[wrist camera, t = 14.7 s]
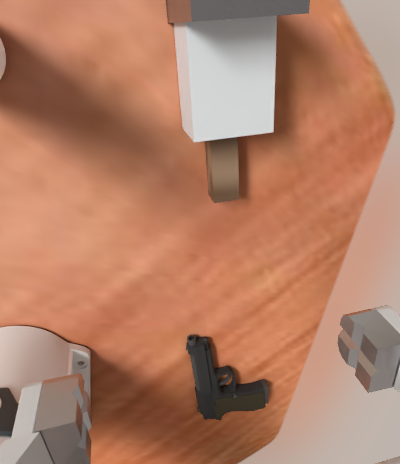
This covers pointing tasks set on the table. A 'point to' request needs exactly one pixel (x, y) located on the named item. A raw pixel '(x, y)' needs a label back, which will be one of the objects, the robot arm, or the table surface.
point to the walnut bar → (222, 169)
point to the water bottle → (2, 59)
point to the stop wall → (231, 9)
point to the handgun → (209, 387)
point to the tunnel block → (226, 76)
